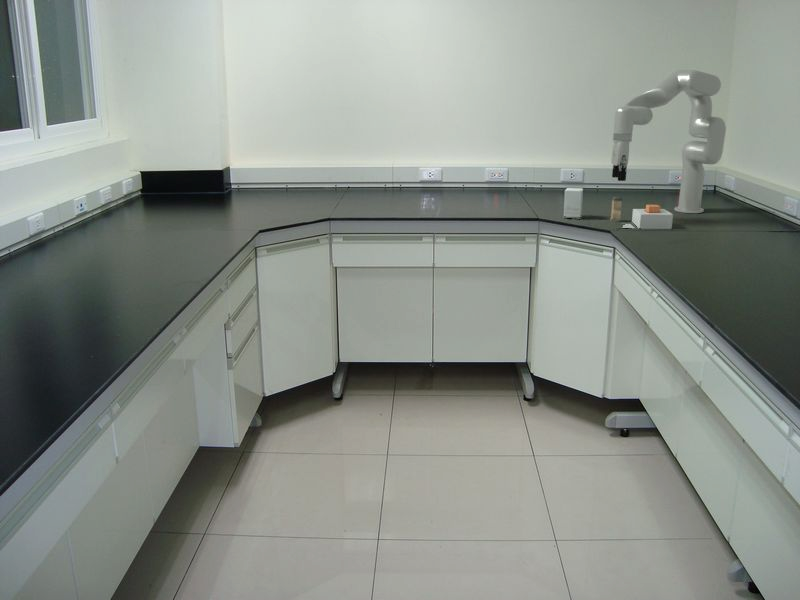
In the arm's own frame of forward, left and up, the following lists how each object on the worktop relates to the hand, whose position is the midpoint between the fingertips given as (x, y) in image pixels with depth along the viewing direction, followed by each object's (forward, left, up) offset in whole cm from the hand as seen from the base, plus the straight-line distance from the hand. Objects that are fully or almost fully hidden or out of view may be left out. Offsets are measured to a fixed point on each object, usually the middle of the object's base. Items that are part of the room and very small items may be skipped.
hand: (618, 179), depth 311 cm
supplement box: (-7, -17, -18) cm, 26 cm away
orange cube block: (+10, +13, -15) cm, 22 cm away
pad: (+13, 0, -18) cm, 22 cm away
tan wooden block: (0, 0, -18) cm, 18 cm away
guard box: (+10, +13, -18) cm, 24 cm away
